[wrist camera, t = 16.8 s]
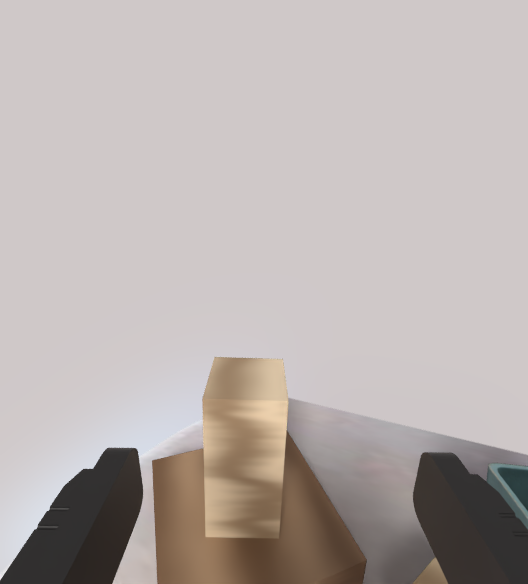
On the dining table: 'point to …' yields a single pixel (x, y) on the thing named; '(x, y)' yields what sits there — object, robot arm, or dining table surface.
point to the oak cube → (431, 574)
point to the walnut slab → (250, 551)
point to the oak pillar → (244, 447)
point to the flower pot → (511, 486)
